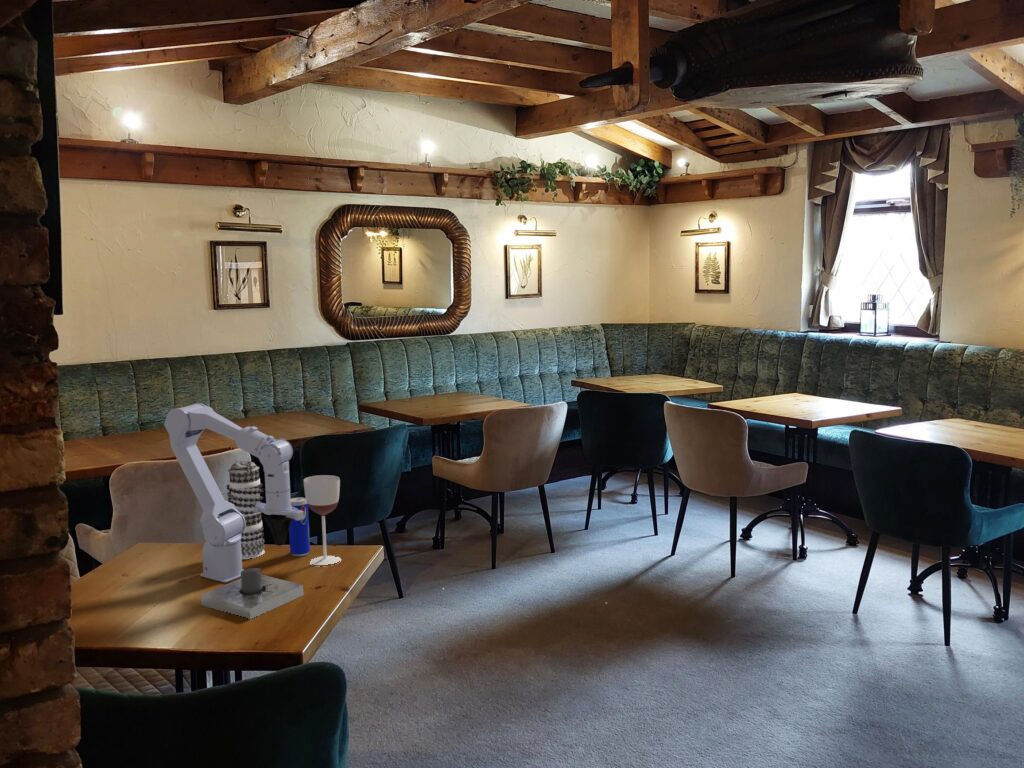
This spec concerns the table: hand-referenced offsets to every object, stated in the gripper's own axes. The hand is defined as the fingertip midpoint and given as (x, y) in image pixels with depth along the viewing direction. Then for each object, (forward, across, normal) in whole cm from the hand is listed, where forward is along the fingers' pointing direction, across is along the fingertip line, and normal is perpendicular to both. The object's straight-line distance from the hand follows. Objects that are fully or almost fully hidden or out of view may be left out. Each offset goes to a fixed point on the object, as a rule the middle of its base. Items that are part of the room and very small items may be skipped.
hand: (280, 544), depth 206 cm
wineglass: (+10, -1, +16) cm, 19 cm away
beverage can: (+10, -11, +17) cm, 22 cm away
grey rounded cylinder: (+9, +3, -12) cm, 16 cm away
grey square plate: (+9, +3, -12) cm, 16 cm away
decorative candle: (+10, -23, +10) cm, 27 cm away
